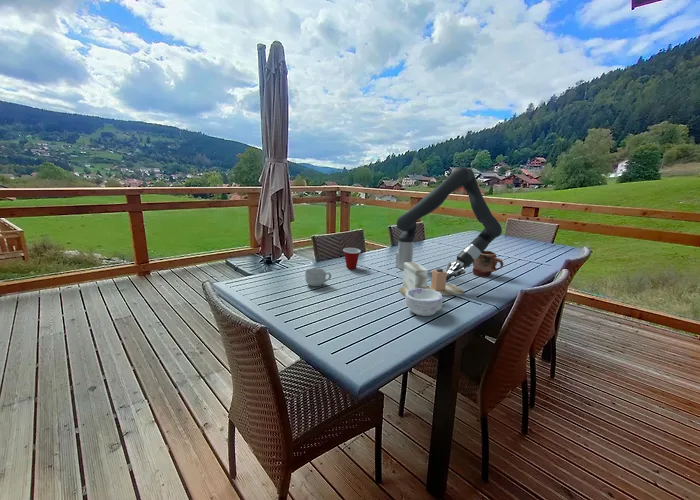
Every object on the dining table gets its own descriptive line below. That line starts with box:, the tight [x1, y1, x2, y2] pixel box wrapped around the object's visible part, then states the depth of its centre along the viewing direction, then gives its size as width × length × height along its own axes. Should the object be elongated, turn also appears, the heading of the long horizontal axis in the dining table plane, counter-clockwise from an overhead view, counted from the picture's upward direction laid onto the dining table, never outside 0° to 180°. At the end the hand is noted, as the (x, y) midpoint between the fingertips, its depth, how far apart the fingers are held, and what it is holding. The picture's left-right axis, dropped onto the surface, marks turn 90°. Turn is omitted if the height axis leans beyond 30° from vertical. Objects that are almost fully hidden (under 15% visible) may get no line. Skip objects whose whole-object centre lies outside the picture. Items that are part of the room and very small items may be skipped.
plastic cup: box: [342, 247, 361, 270], centre depth 183 cm, size 11×11×12 cm
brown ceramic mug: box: [472, 250, 504, 278], centre depth 172 cm, size 20×12×14 cm, turn 40°
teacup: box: [304, 267, 332, 287], centre depth 154 cm, size 14×11×8 cm
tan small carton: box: [430, 267, 447, 291], centre depth 146 cm, size 5×5×10 cm
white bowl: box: [404, 288, 444, 317], centre depth 125 cm, size 15×15×8 cm
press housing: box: [398, 261, 465, 298], centre depth 146 cm, size 30×14×14 cm, turn 102°
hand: (444, 280), depth 147 cm, fingers closed
